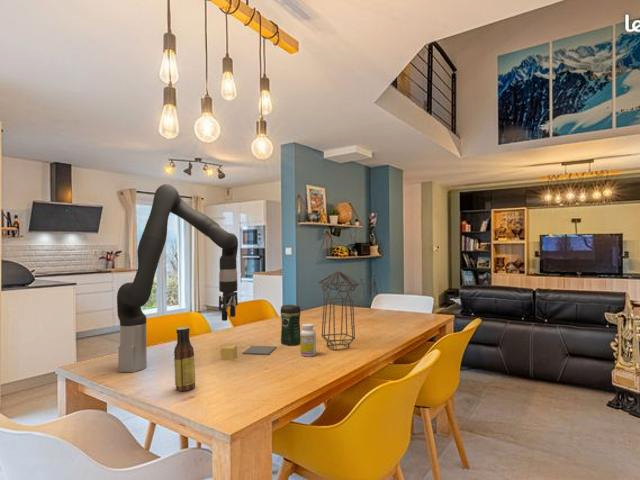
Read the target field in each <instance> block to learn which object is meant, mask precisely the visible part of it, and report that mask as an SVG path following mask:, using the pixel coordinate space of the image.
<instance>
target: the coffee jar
mask: <svg viewBox="0 0 640 480" xmlns="http://www.w3.org/2000/svg"><path fill="white" fill-rule="evenodd" d="M301 313H302V312H301V306H299V305H296V304H295V305H294V304H284V305H281V307H280V317H281V333H280V343H281V344H282V345H285V346H297V345H300V332H301V324H300V321H301V320H300V319H301Z"/></svg>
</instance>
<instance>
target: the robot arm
mask: <svg viewBox="0 0 640 480" xmlns="http://www.w3.org/2000/svg"><path fill="white" fill-rule="evenodd" d="M151 205H152V206H151V209H150V213H149V215H148V218H147V220H146V223H145V227H144V229H143V232H142V234H141V238H140V240H139V243H138V246H137V271H136V273H135V276H134V279H133V281H131V282H126V283H123V284H122V285H121V286H120V287H119V288H118V291H117V293H116V308H117V312H116V313H117V317H118V320H119V346H118V348H117V349H118V352H117V353H118V354H117V355H118V356H117V357H118V359H117V360H118V363H117V364H118V370H117V371H118V372H119V373H135V372H138V371H142V370H144V369H146V368H147V365H148V364H147V362H148V361H147V358H148V357H147V315H146V314H145V313H144V312H143V310H142V307H143V306H145V305H146V304H147V303H148V301H149V300H150V299H151V298H150V297H151V294H152V290H153V285H154V279H155V275H156V273H157V268H158V267H159V263H160V260H161V256H162V254H163V250H164V248H165V244H166V241H167V237H168V223H169V222H168V220H169V216H170V214H173V215H175V216H177V217H179V218H180V219H182V220H184V221H185V222H187V223H188V224H189V225H191V226H192V227H194V228H195V229H196V230H197V231H199V232H200V233H201V234H203V235H204V236H205V237H207V238H209V239H210V240H211V241H212V242H213V243H214V244H215V245H216V246H218V247H219V248H221V256H220V257H219V271H218V272H219V274H218V291H219V292H220V293H222V295H218V311H220V312H221V320H222V321H223V322H224V321H225V322H226V321H228V319H229V318H228V317H230V318H235V317H236V308H237V306H238V305H239V304H238V301H239V300H238V299H239V298H238V286H239V285H238V270H237V269H238V267H237V266H238V265H237V264H238V263H237V262H238V260H237V256H238V248H239V241H238V240H239V239H238V238H237V236H236V234H234V233H232V232H229V231H226V230H225V229H224V228H222V227H221V225H219V224H218V223H217V222H216V221H215V220H213V219H212V218H210V217H209V216H208V215H206V214H204V213H203V212H201V211H199V210H197V209H194V208H193V207H192V206H190V205H188V203H186V201H184V199H182V198H181V196H180V193H179V192H178V190H177V188H176V187H175V186H173V185H172V184H170V183H165V184H162V185H160V186H158V188H156V190H155V191H154V195H153V201H152V204H151ZM228 310H229V316H228Z"/></svg>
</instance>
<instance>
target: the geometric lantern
mask: <svg viewBox="0 0 640 480" xmlns="http://www.w3.org/2000/svg"><path fill="white" fill-rule="evenodd" d="M340 279H341V280H340ZM317 283H318V284H319V285H320V288H321V289H322V291H323V292H325V293H326V296H327V297H326V298H325V294H323V309H322V311H323V312H322V326H321V337H322V338H323V339H324V341H325V342H326V347H327V348H328V349H330V350H332V351H340V350H348V349H350V344H351V343H352V342H353V341H354V340H355V339H356V330H355V310H354V299H353V298H352V297H353V292H355V289H356V288H357V287H358V286H359V285H360V283H359V282H357V281H356V280H355V279H354V278H351V277H350V276H348V275H347V274H346V273H344V272H342V271H339V270H336V271H334V272H333V273H332V274H330V275H328V276H327V277H325V278H323V279H321V280H320V281H319V282H317ZM332 286H333V288H332ZM342 287H345V290H342ZM339 288H340V289H339ZM328 289H329V291H327V290H328ZM331 290H334V291H336V292H337V294H336V295H335V297H333V298H332V299H331V297H330V296H329V295H330V294H331V293H330V292H331ZM340 293H346V294H347V295H346V297H345V298H343V296H342V295H341V294H340ZM338 295H339V296H340V298H338V297H337V296H338ZM338 300H339V301H338ZM328 302H329V312H328V313H329V314H328V315H329V317H328V319H329V320H328V332H327V333H328V334H326V324H327V323H326V322H327V309H328ZM347 302H348V303H349V308H350V325H351V335H350V334H348V313H347V312H348V311H347V310H348V309H347ZM335 303H341V318H340V319H341V322H340V324H341V325H340V327H341V328H340V332H339V333H336V326H335V325H336V323H335V318H336V317H335V311H336V310H335ZM344 305H345V306H344ZM332 307H333V309H332ZM344 307H345V308H344ZM344 309H345V326H346V327H345V330H346V332H345V333H343V315H344V313H343V312H344ZM332 310H333V312H332ZM331 312H332V313H331ZM331 314H333V320H332V321H333V333H331V332H330V331H331ZM339 335H340V338H339V339H336V336H339ZM342 335H343V336H344V337H343V339H342ZM326 336H328V337H326ZM330 336H333V339H330ZM347 336H348V337H350V338H349V339H348V338H347V339H346V337H347ZM348 341H350V342H348ZM333 342H334V343H333ZM336 342H341V343H336ZM329 344H330V345H329ZM337 346H344V347H345V348H335V347H337ZM332 347H333V348H332Z"/></svg>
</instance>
